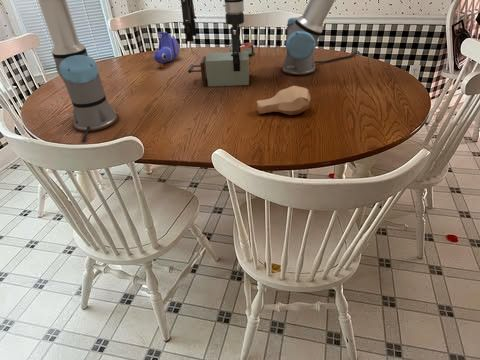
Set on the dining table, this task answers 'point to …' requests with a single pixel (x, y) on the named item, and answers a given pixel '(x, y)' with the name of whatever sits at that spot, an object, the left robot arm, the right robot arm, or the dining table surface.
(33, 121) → the dining table surface
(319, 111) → the dining table surface
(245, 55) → the pale green box
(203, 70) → the drawer
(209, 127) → the dining table surface
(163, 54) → the toy
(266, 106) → the squash
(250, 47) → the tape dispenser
